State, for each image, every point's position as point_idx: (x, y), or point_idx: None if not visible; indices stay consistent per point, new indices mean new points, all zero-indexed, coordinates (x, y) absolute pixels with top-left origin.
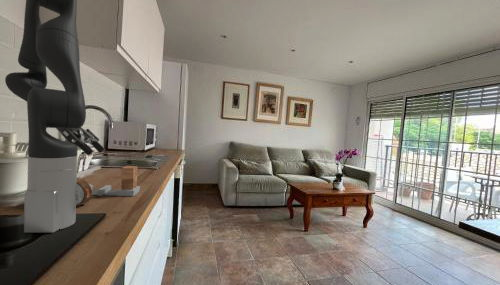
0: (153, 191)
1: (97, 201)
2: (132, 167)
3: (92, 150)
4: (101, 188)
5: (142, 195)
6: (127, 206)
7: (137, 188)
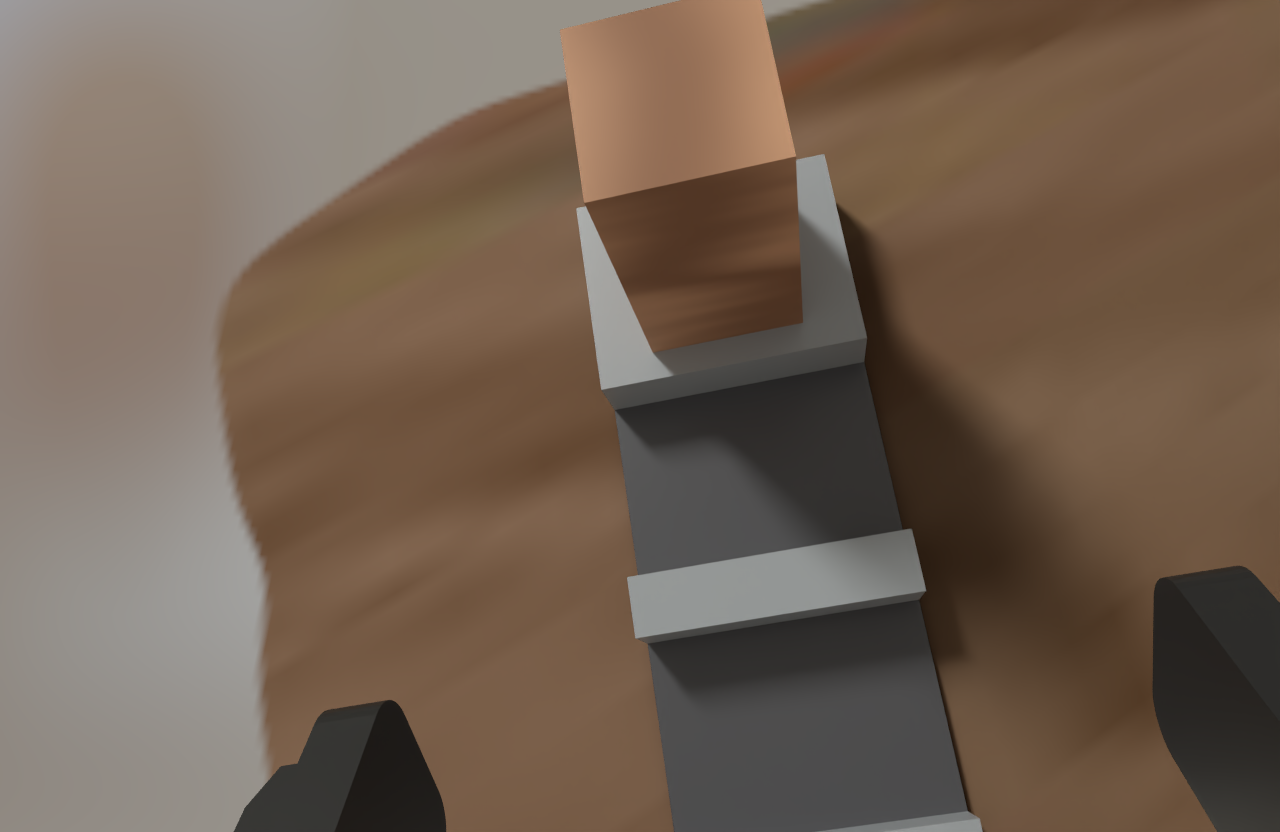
0: None
1: (1155, 441)
2: (699, 32)
3: (1217, 577)
4: (834, 595)
5: None
6: (1205, 50)
7: None
